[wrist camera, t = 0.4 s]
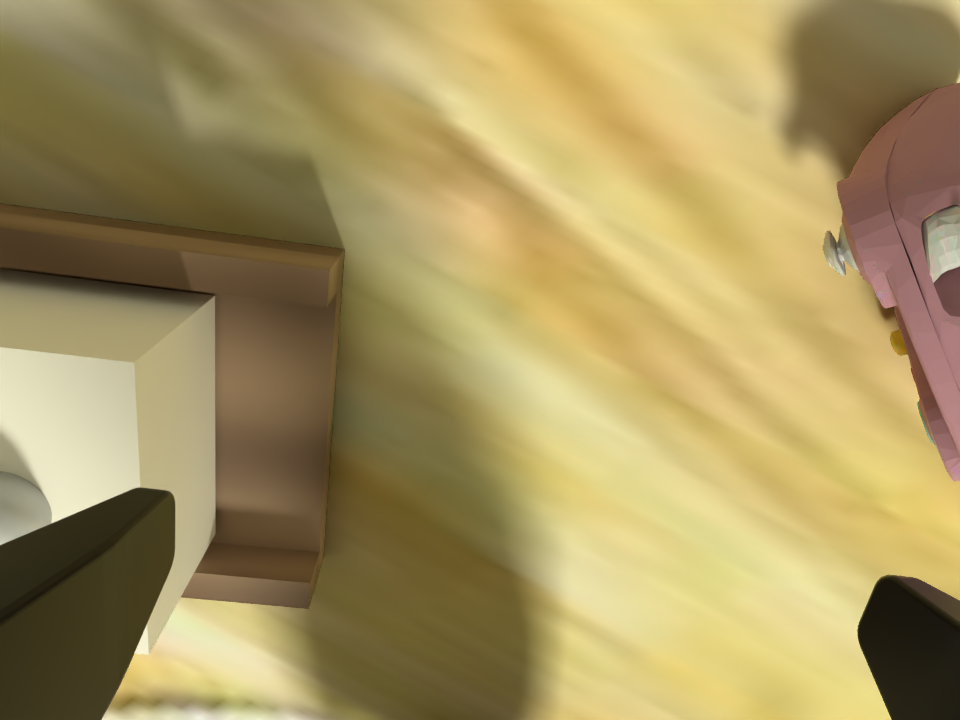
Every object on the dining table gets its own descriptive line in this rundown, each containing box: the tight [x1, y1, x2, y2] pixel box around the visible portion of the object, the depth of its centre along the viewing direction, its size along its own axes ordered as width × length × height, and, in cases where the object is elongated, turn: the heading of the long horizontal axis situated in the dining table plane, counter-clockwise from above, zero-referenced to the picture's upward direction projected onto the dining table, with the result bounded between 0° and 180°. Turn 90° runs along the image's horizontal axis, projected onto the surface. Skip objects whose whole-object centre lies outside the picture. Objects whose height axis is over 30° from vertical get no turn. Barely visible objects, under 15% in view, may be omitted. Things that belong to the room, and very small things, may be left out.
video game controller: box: [823, 83, 960, 481], centre depth 18 cm, size 10×5×7 cm, turn 32°
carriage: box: [0, 269, 216, 655], centre depth 17 cm, size 8×6×6 cm
